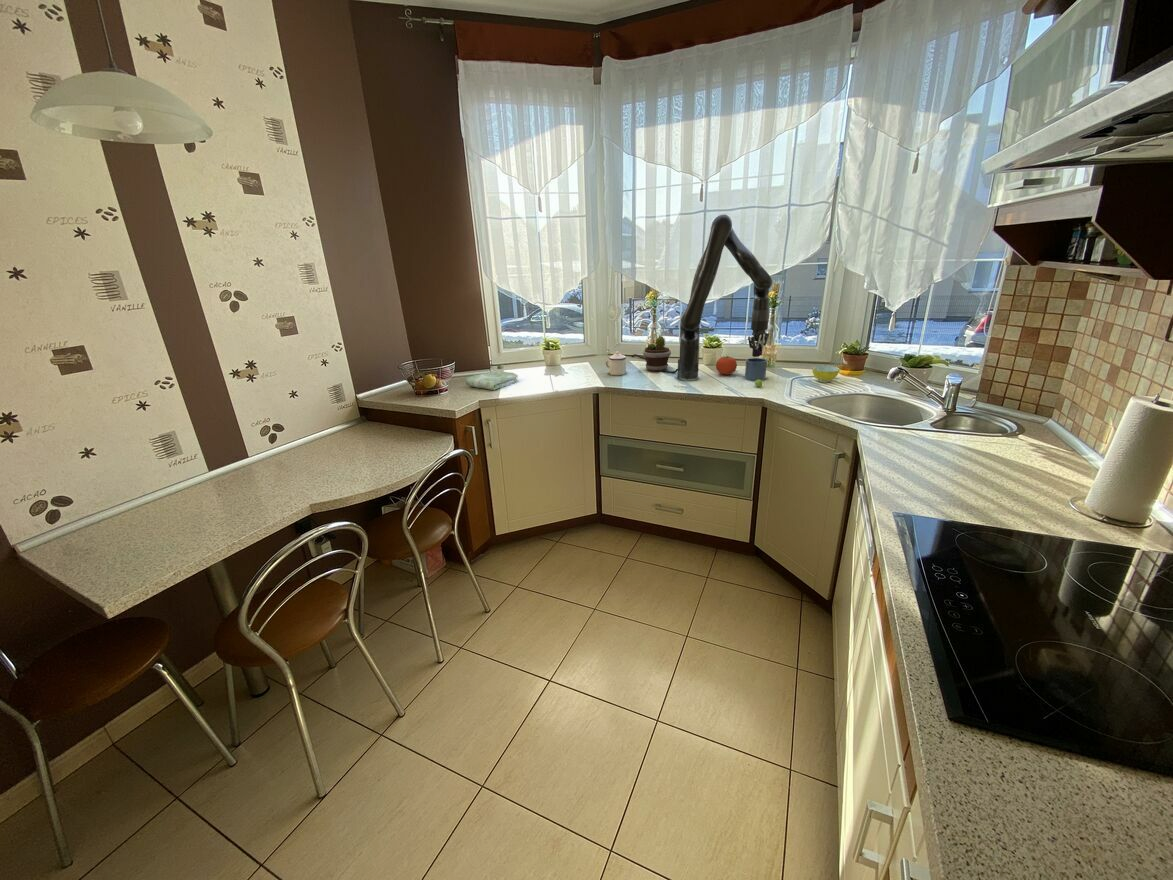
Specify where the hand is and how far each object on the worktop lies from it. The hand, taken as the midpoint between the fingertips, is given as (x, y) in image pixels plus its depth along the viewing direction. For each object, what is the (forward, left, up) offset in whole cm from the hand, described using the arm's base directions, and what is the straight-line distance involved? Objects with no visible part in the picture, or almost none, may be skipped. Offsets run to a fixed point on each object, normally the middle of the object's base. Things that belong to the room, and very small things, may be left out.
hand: (757, 355), depth 228 cm
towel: (-88, -97, -11) cm, 131 cm away
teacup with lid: (-59, -39, -11) cm, 72 cm away
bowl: (+26, +16, -11) cm, 33 cm away
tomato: (-15, -3, -11) cm, 19 cm away
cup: (0, 0, -11) cm, 11 cm away
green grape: (+10, -12, -11) cm, 19 cm away
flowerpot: (-48, -19, -11) cm, 53 cm away
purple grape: (0, 0, 0) cm, 0 cm away
